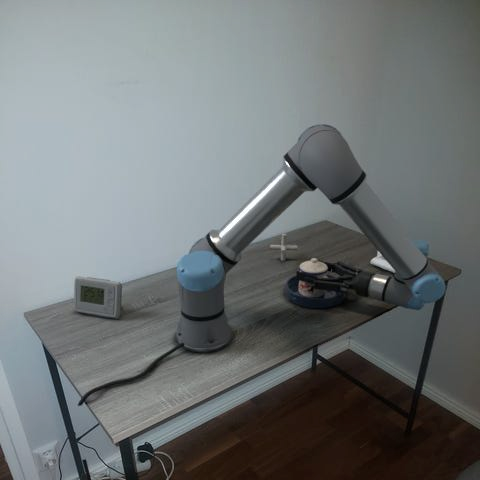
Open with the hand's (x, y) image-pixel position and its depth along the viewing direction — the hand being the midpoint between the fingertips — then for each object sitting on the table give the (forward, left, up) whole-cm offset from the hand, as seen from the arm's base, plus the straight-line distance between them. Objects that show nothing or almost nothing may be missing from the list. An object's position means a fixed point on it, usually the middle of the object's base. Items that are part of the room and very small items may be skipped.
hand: (305, 269), depth 144 cm
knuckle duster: (+32, -25, -8) cm, 42 cm away
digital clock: (-38, +53, -8) cm, 65 cm away
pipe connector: (+22, +15, -8) cm, 28 cm away
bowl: (-1, -4, -8) cm, 9 cm away
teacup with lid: (-1, -4, -8) cm, 9 cm away
